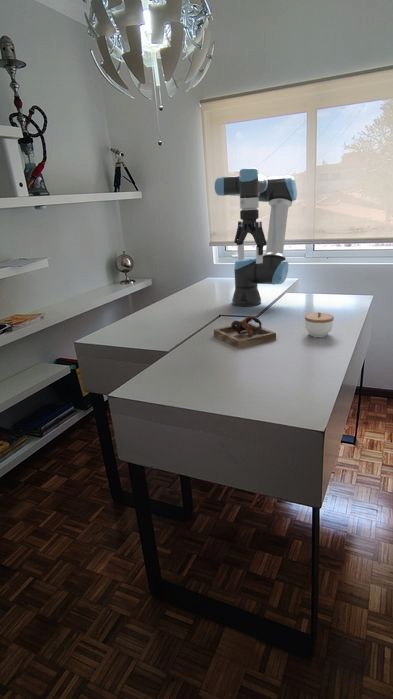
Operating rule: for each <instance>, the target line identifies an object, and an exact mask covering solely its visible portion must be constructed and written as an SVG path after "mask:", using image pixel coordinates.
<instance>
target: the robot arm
mask: <svg viewBox="0 0 393 699" xmlns="http://www.w3.org/2000/svg"><path fill="white" fill-rule="evenodd" d="M214 192H215V194H216V195H217V196H220V197H221V196H222V197H225V196H231V197H232V196H235V197H239V209H241V210H240V212H239V217H240V220H239V221H238V222H237V229H236V233H235V237H234V241H233V243H234V244H236V245H237V260H236V261H235V262H234V269H233V270H234V291H233V295H232V298H231V304H232V306H237V307H253V305H254V306H257V304H258V305H260V304H262V296H261V295H260V292H259V288H258V285H273V286H274V285H282V284H284V283H285V281H286V279H287V276H288V274H289V262H288V260H286V256H285V255H284V248H285V241H286V240H285V239H286V230H287V223H288V221H287V220H288V212H289V208H290V207H291V206H293V204H292V203H293V202H294V201H297V196H298V194H297V193H298V191H297V184H296V179H295V177H293V176H292V175H283V176H282V175H281V176H279V175H278V176H269V177H268V176H267V177H266V176H265V175H263V174H261V173H259V170H258V168H257V167H249V168H241V169H240V170H239V175H236V176H233V175H232V176H222V177H221V176H220V177H217V178H216V179H215V180H214ZM260 202H263V203H266V202H268V205H269V207H270V213H269V214H270V215H269V221H268V231H267V239H266V237H265V232H264V229H263V223H262V221H257V220H258V219H259V217H260V216H259V213H260V212H259V209H258V208H259V203H260ZM248 234H250V235H252V237H253V238H252V239H253V240H254V242H255V245H256V247H255V256H254V257H253V256H252V257H246V258H245V244H244V243H245V240H246V237H247V235H248ZM264 247H266V248H265V253H264ZM259 303H260V304H259Z"/></svg>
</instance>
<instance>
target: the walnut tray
mask: <svg viewBox="0 0 393 699" xmlns="http://www.w3.org/2000/svg"><path fill="white" fill-rule="evenodd" d="M247 325H249V326H251V330H253V328H256V327H259V325H256V324H255V323H251V322H248V324H247ZM235 326H236V327H238V326H237V325H235ZM248 333H249V332H248V331H247V330H243V331H241V332H240V333H237V331H235V330H234V329H233V328H232V326H231V325H228V326H223V327H219V328H214V329H213V337H215V338H217V339H219V340H221V341H224V342H225V343H227V344H229V345H231V346H233V347H235V348H237V349H239V350H240V349H244V348H248V347H253V346H256V345H260V344H264V343H269V342H272V341H276V340H277V332H275V331H272V330H269V329H268V328H265V327H263V326H261V330H260V332H259V333H258V334H256V335H253V336H252V337H250V338H249V337H248V336H247V335H248Z"/></svg>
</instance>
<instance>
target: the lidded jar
mask: <svg viewBox="0 0 393 699" xmlns="http://www.w3.org/2000/svg"><path fill="white" fill-rule="evenodd" d="M334 319H335V316H334V315H333V314H331V313H326V312H322V311H317V312H310V313H307V314H306V315H305V316H304V321H305V322H304V324H305V325H304V326H305V329H306V331H307V333H308V334H309V335H310V336H311V337H312V336H313V338H317V337H321V338H325V336H326V335H329V334H330V332H331V331H332V329H333V325H334ZM326 337H327V336H326Z"/></svg>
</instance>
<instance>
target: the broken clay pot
mask: <svg viewBox="0 0 393 699" xmlns="http://www.w3.org/2000/svg"><path fill="white" fill-rule="evenodd" d="M251 321H254V323H256V324H258V326H259V327H256V328H253V330H251V326H249V325H247V324H248V322H249V323H251ZM262 324H263V323H262V322H261V320H260V319H259V318H258V317H255V316H252V315H251V316H245V318H244V319H242V320H241V321H240V320H233V321H231V325H230V326H232V328H233V329H234V330H235V331H237V333H240V332H241V331H243V330H247V331H248V332H249V333H248V335H247V336H248V337H249V338H250V337H252V336H253V335H256V334H258V333H259V332H260V330H261V327H262ZM235 325H237V326H238V327H236V326H235Z"/></svg>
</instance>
